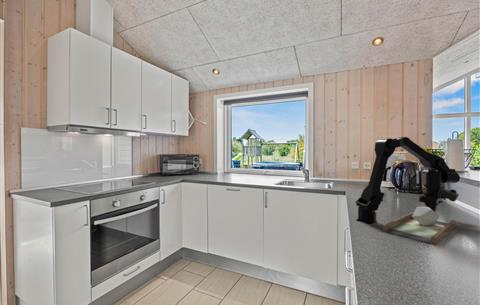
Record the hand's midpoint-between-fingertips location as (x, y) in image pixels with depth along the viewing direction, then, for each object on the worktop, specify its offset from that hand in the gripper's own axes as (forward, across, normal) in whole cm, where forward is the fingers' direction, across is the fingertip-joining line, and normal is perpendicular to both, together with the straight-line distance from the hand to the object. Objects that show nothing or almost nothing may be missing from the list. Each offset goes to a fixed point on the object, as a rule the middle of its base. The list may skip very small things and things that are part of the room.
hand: (432, 215), depth 103 cm
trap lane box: (+2, -18, 0) cm, 18 cm away
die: (+2, -12, 0) cm, 12 cm away
